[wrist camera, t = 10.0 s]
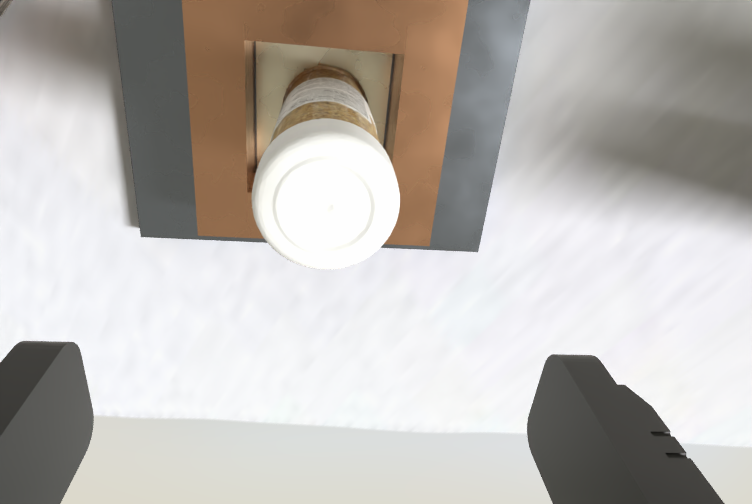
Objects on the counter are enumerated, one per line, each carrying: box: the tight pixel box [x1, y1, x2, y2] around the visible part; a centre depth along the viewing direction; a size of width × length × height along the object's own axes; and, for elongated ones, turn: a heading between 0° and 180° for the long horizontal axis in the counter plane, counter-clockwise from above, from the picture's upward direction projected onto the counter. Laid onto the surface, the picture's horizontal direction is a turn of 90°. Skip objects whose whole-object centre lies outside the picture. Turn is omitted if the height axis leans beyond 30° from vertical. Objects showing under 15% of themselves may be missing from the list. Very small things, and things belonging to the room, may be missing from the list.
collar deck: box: [112, 0, 530, 252], centre depth 27 cm, size 20×16×4 cm
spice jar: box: [252, 66, 400, 269], centre depth 22 cm, size 5×5×13 cm
